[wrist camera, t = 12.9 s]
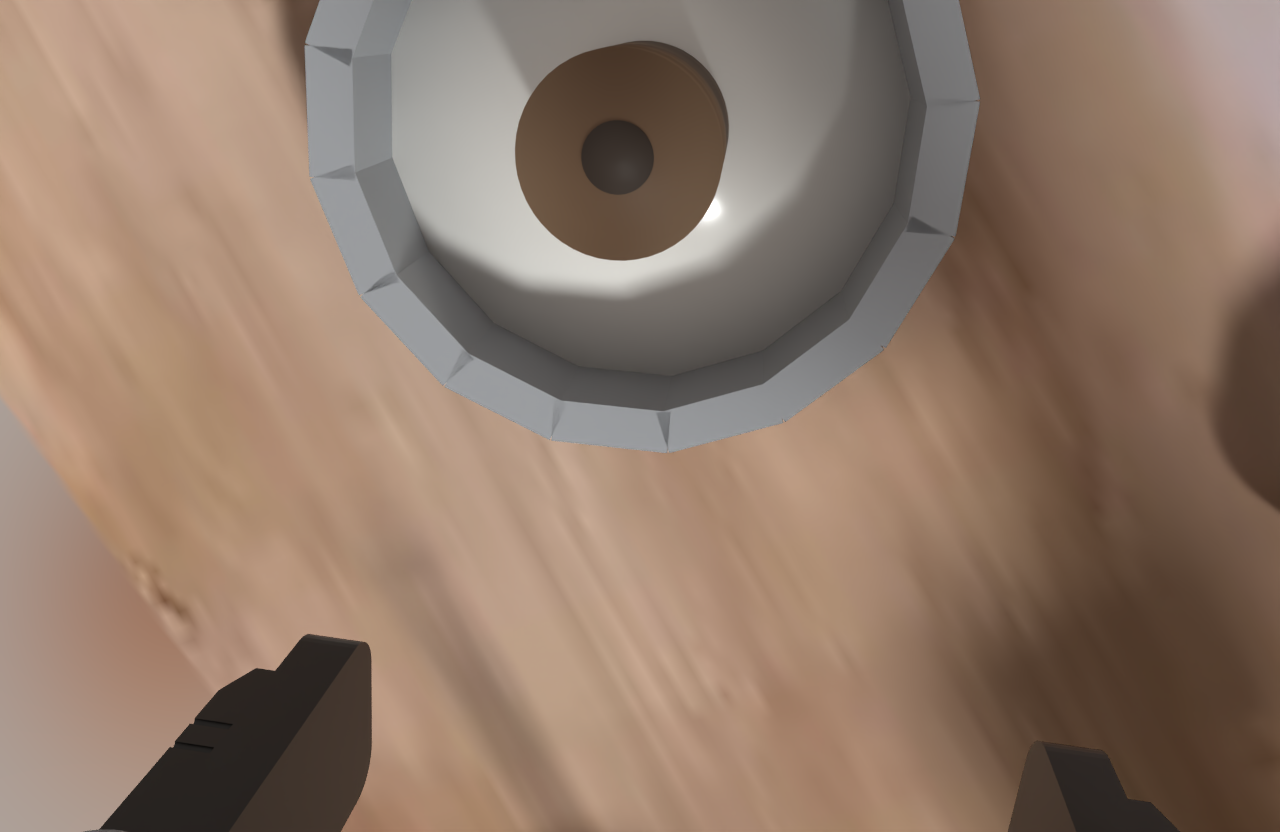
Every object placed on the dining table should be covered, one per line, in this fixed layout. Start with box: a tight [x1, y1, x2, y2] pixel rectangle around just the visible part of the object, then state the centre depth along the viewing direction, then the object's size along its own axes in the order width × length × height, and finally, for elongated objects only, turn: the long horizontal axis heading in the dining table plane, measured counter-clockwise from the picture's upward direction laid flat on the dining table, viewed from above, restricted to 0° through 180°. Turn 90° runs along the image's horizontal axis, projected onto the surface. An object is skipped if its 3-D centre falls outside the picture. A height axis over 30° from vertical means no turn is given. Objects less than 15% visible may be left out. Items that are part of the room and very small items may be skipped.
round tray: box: [305, 0, 980, 453], centre depth 28 cm, size 16×16×4 cm
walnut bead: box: [515, 41, 729, 261], centre depth 26 cm, size 5×5×6 cm
